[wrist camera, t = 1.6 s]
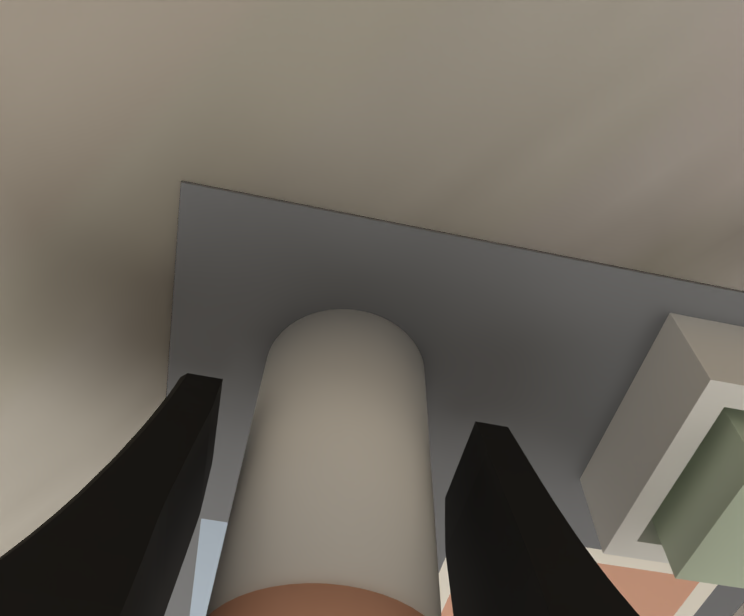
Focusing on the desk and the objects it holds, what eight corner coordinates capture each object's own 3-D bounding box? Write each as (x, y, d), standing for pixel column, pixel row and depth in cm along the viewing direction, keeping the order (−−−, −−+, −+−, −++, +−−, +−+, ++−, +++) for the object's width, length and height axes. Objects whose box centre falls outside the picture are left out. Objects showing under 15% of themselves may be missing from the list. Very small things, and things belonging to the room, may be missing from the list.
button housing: (888, 353, 14) (958, 424, 12) (767, 508, 16) (811, 584, 15) (669, 311, 13) (710, 379, 12) (579, 478, 16) (602, 553, 14)
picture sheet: (932, 308, 14) (967, 337, 14) (632, 690, 23) (642, 723, 22) (194, 159, 13) (181, 182, 12) (157, 629, 21) (148, 662, 20)
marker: (449, 322, 13) (502, 739, 7) (407, 449, 15) (420, 868, 9) (272, 289, 13) (165, 695, 7) (251, 423, 15) (152, 838, 9)
